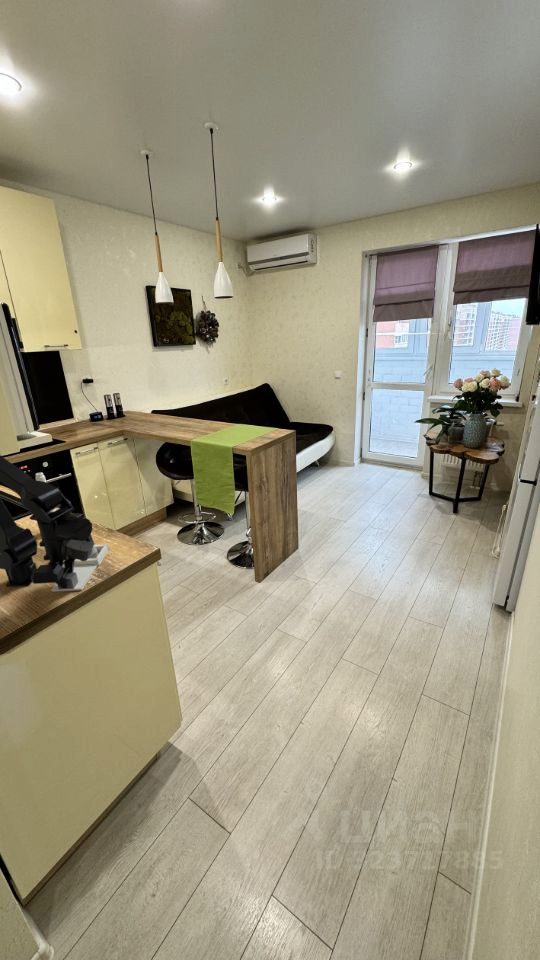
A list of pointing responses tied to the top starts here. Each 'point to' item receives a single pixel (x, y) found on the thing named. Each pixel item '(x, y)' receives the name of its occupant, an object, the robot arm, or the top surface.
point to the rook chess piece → (93, 553)
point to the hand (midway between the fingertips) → (67, 583)
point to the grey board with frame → (83, 571)
